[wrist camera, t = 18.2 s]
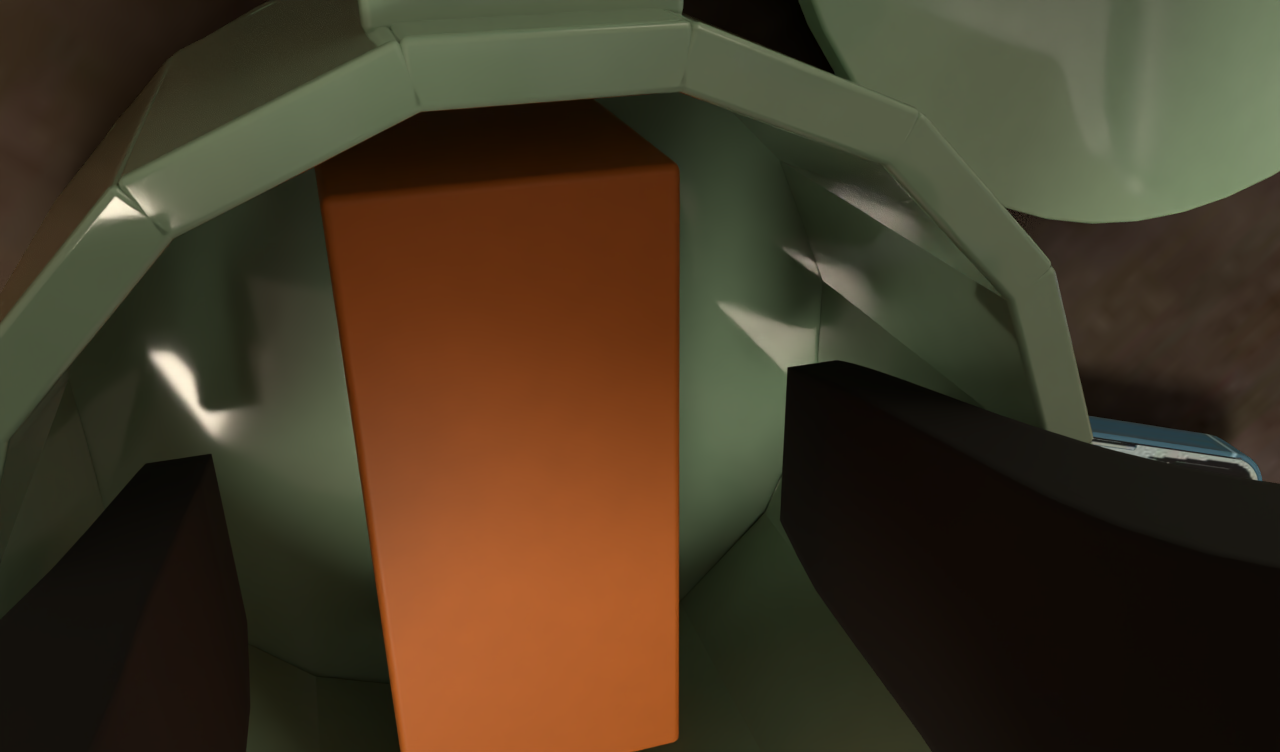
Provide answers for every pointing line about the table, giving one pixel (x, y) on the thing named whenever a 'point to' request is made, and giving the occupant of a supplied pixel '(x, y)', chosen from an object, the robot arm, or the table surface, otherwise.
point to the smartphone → (1173, 447)
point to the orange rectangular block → (516, 421)
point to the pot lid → (1078, 94)
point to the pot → (312, 358)
